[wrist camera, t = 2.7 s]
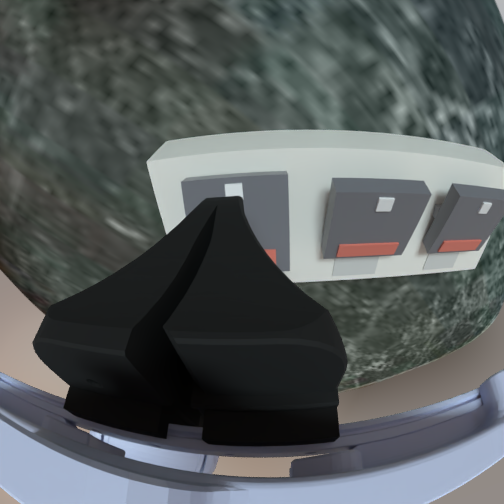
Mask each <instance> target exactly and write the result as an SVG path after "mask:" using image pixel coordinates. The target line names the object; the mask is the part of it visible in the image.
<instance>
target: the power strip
mask: <svg viewBox="0 0 504 504" xmlns="http://www.w3.org/2000/svg"><path fill="white" fill-rule="evenodd" d="M147 166H148V170H149V174H150V178H151V182H152V185H153V189H154V193H155V196H156V200H157V204H158V207H159V211H160V214H161V217H162V221H163V224H164V227H165V231H166V234H168V233H169V232H170V231H171V230H172V229H173V228H175V227H176V226H177V225H178V224H179V223H180V222H181V221H182V220H183V219H184V218H185V217H186V215H185V209H184V202H183V195H182V188H181V181H183V180H184V179H185V178H189V177H199V176H210V175H222V174H235V173H250V172H270V171H287V173H288V189H289V230H290V271H282V272H283V273H284V274H285V275H286V276H287V277H288V278H289V279H290V280H291V281H292V282H314V281H332V280H349V279H364V278H379V277H392V276H405V275H416V274H428V273H439V272H449V271H459V270H468V269H475V267H476V265H477V263H478V261H479V259H480V257H481V255H482V253H483V251H484V248H485V246H486V244H487V242H488V239H489V238H488V239H487V240H486V242H485V243H484V244H483V246H482V247H481V248H480V250H479V251H466V252H450V253H433V254H427V252H426V249H425V246H424V244H423V239H424V238H425V236H426V234H427V232H428V230H429V229H430V227H431V225H432V223H433V221H434V219H435V217H436V215H437V213H438V211H439V210H440V208H441V206H442V204H443V202H444V199H445V197H446V195H447V193H448V191H449V189H450V187H451V185H452V183H456V184H465V185H474V186H482V187H490V188H497V189H504V163H503V162H502V161H500V160H499V159H498V158H496V157H495V156H494V155H492V154H491V153H489V152H488V151H486V150H485V149H481V148H477V147H472V146H467V145H463V144H458V143H452V142H447V141H441V140H435V139H429V138H422V137H414V136H407V135H398V134H388V133H377V132H363V131H344V130H272V131H253V132H239V133H227V134H217V135H207V136H199V137H191V138H184V139H177V140H170V141H166V142H165V143H164V144H163V145H162V146H161V147H160V148H159V149H158V150H157V151H156V152H155V153H154V154H153V155H152V156H151V157H150V159H149V160H148V161H147ZM332 178H379V179H403V180H419V181H424V182H425V184H426V185H427V187H428V189H429V190H430V192H431V194H432V195H431V197H430V199H429V202H428V204H427V206H426V208H425V210H424V212H423V214H422V216H421V219H420V221H419V223H418V225H417V227H416V229H415V231H414V233H413V234H412V236H411V238H410V240H409V242H408V244H407V246H406V248H405V250H404V251H403V253H402V255H396V256H376V257H356V258H335V259H323V254H322V248H321V242H322V237H323V231H324V225H325V220H326V214H327V207H328V201H329V195H330V188H331V181H332ZM489 237H490V236H489Z"/></svg>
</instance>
